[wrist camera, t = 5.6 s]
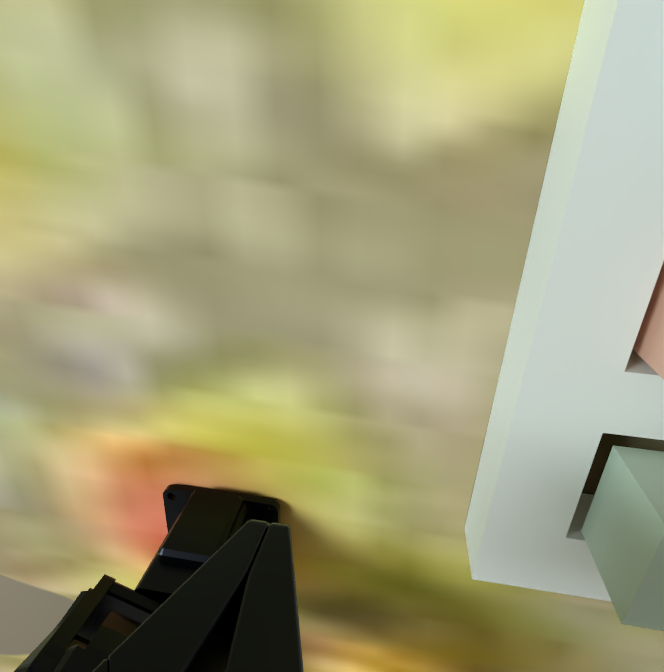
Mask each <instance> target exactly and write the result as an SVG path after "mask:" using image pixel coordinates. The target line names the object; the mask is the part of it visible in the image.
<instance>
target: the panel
mask: <svg viewBox="0 0 664 672" xmlns="http://www.w3.org/2000/svg"><path fill="white" fill-rule="evenodd" d="M663 261H664V0H585V1H584V6H583V10H582V14H581V19H580V23H579V28H578V32H577V36H576V41H575V45H574V50H573V54H572V58H571V63H570V67H569V72H568V76H567V80H566V85H565V89H564V94H563V98H562V102H561V107H560V111H559V116H558V120H557V124H556V129H555V133H554V138H553V142H552V146H551V151H550V155H549V160H548V164H547V168H546V173H545V177H544V182H543V186H542V190H541V195H540V199H539V204H538V208H537V212H536V217H535V221H534V226H533V230H532V234H531V239H530V243H529V247H528V252H527V256H526V261H525V265H524V269H523V274H522V278H521V283H520V287H519V291H518V296H517V300H516V305H515V309H514V313H513V318H512V322H511V327H510V331H509V335H508V340H507V344H506V349H505V353H504V357H503V362H502V366H501V371H500V375H499V379H498V384H497V388H496V393H495V397H494V401H493V406H492V410H491V415H490V419H489V423H488V428H487V432H486V437H485V441H484V445H483V450H482V454H481V459H480V463H479V467H478V472H477V476H476V481H475V485H474V489H473V494H472V498H471V503H470V507H469V511H468V516H467V520H466V525H465V534H466V541H467V548H468V555H469V562H470V569H471V576H472V579H474V580H480V581H487V582H493V583H499V584H505V585H512V586H518V587H524V588H530V589H536V590H543V591H549V592H555V593H561V594H568V595H574V596H580V597H586V598H592V599H599V600H605V601H611V598H610V596H609V594H608V592H607V589H606V587H605V585H604V582H603V580H602V578H601V575H600V573H599V571H598V569H597V566H596V564H595V562H594V559H593V557H592V555H591V552H590V550H589V548H588V546H587V543H586V541H585V539H584V536H583V534H582V532H581V530H582V528H583V525H584V522H585V519H586V517H587V514H588V511H589V509H590V506H591V503H592V501H593V498H594V495H593V494H585V493H582V490H583V487H584V484H585V482H586V479H587V476H588V473H589V470H590V468H591V465H592V462H593V459H594V456H595V453H596V451H597V448H598V445H599V442H600V439H601V436H602V434H603V433H609V434H617V435H625V436H633V437H642V438H650V439H658V440H664V379H663V378H662V377H661V376H660V375H658V374H657V373H656V372H655V371H654V370H653V369H652V368H651V367H650V366H649V365H648V364H647V363H646V362H645V361H644V360H643V359H642V358H641V357H640V356H639V355H638V354H637V353H636V352H635V351H634V350H633V346H634V343H635V341H636V338H637V335H638V332H639V329H640V326H641V324H642V321H643V318H644V315H645V312H646V309H647V307H648V304H649V301H650V298H651V295H652V293H653V290H654V287H655V284H656V281H657V278H658V276H659V273H660V270H661V267H662V264H663ZM611 602H612V601H611Z"/></svg>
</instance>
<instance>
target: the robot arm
mask: <svg viewBox="0 0 664 672" xmlns="http://www.w3.org/2000/svg"><path fill="white" fill-rule="evenodd" d="M172 493H173V494H172ZM163 499H164V506H165V514H166V521H167V529H168V534H167V536H166V538H165V539H164V541H163V543H162V544H161V546H160V548H159V550H158V551H157V553H156V555H155V556H154V558H153V560H152V561H151V563H150V565H149V567H148V568H147V570H146V572H145V573H144V575H143V577H142V578H141V580H140V582H139V583H138V585H137V587H136V589H135V590H132V589H130V588H128V587H126V586H124V585H121V584H119V583H117V582H115V580H116V579H114V578H112V577H110V576H108V575H104V576H103V577H102V579H101V580H100V581H99V582H98V584H97V585H96V586H95V588H94V589H91V588H90V589H89V590H88V591H82V592H81V593H80V594H79V596H78V597H77V599H76V600H75V602H74V603H73V604H72V606H71V607H70V609H69V610H68V612H67V613H66V614H65V616H64V617H63V619H62V620H61V621H60V622H59V624H58V625H57V626H56V627H55V629H54V630H53V631H52V632H51V633H50V634H49V635H48V636H47V637H46V639H44V640H43V642H41V644H40V645H39V646H38V647H37V648H36V649H35V650H34V651H33V652H32V653H31V654H30V655H29V656H28V657H27V658H26V659H25V660H24V661H23V662H22V663H21V665H20V666H19V667H18V668H17V669H16V670H15V671H14V672H304V671H303V660H302V649H301V639H300V628H299V617H298V606H297V595H296V585H295V574H294V563H293V552H292V541H291V531H290V527H289V525H285V524H280V504H279V503H278V502H277V501H276V500H273V499H269V498H262V497H255V496H249V495H242V494H235V493H228V492H222V491H215V490H208V489H201V488H195V487H188V486H181V485H175V484H171V485H169V486H168V487H167V488H166V489H165V491H164V492H163ZM269 508H271V509H272V510H271V509H269Z"/></svg>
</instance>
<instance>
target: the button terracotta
mask: <svg viewBox="0 0 664 672" xmlns="http://www.w3.org/2000/svg"><path fill="white" fill-rule="evenodd" d="M633 350H634V351H635V352H636V353H637V354H638V355H639V356H640V357H641V358H642V359H643V360H644V361H645V362H646V363H647V364H648V365H649V366H650V367H651V368H652V369H653V370H654V371H655V372H656V373H657V374H658V375H660V376H661V377H662V378H663V379H664V261H663V264H662V267H661V270H660V273H659V276H658V278H657V281H656V284H655V287H654V290H653V293H652V295H651V298H650V301H649V304H648V307H647V309H646V312H645V315H644V318H643V321H642V324H641V326H640V329H639V332H638V335H637V338H636V341H635V343H634V346H633Z"/></svg>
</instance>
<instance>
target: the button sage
mask: <svg viewBox="0 0 664 672" xmlns="http://www.w3.org/2000/svg"><path fill="white" fill-rule="evenodd" d="M581 532H582V534H583V536H584V539H585V541H586V543H587V546H588V548H589V550H590V552H591V555H592V557H593V559H594V562H595V564H596V566H597V569H598V571H599V573H600V575H601V578H602V580H603V582H604V585H605V587H606V589H607V592H608V594H609V596H610V598H611V601H612V603H613V605H614V608H615V610H616V612H617V615H618V617H619V619H620V621H621V624H625V625H631V626H637V627H643V628H649V629H655V630H662V631H664V452H662V451H654V450H646V449H638V448H630V447H622V446H614V445H613V447H612V449H611V452H610V455H609V457H608V460H607V463H606V465H605V468H604V471H603V474H602V476H601V479H600V482H599V484H598V487H597V490H596V492H595V495H594V498H593V501H592V503H591V506H590V509H589V511H588V514H587V517H586V519H585V522H584V525H583V528H582V530H581Z"/></svg>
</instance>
